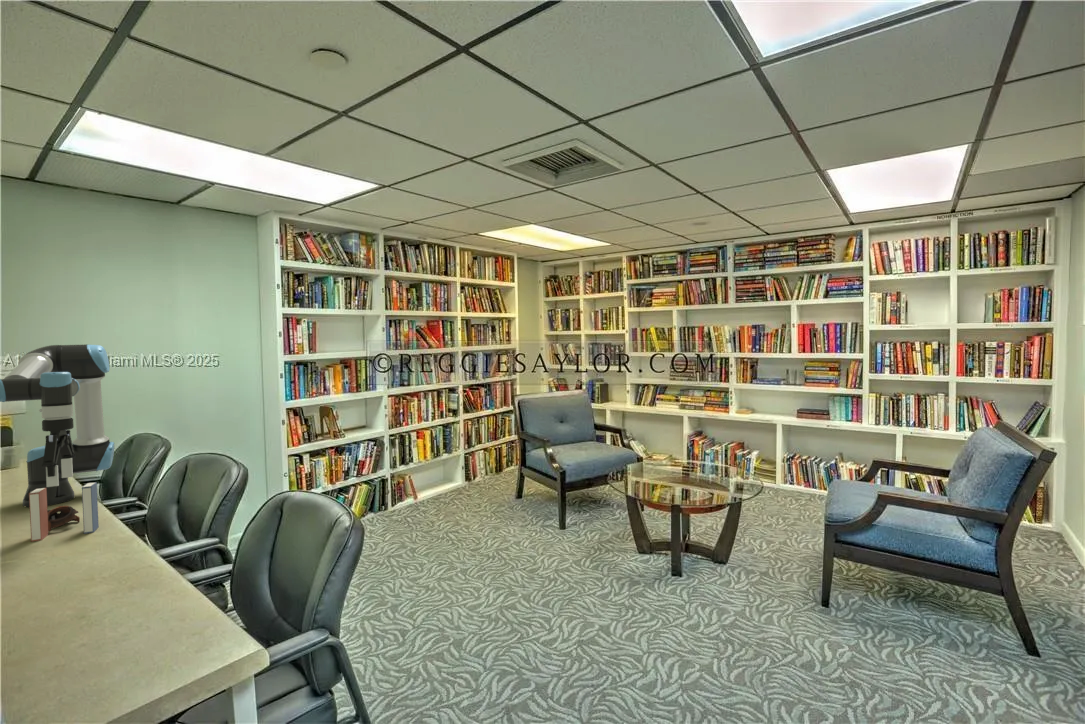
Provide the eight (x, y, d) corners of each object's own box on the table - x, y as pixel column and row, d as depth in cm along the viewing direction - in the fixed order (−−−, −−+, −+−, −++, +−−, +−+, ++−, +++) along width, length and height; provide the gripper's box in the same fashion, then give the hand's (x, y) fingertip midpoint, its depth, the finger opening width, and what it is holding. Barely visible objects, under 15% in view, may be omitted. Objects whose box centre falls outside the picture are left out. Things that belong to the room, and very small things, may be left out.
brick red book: (38, 535, 169) (36, 488, 169) (48, 534, 170) (46, 487, 170) (31, 541, 164) (28, 493, 163) (41, 540, 165) (39, 491, 164)
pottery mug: (90, 521, 183) (83, 505, 178) (65, 542, 174) (57, 525, 170) (59, 514, 183) (51, 498, 179) (32, 534, 175) (24, 518, 171)
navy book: (89, 528, 175) (87, 483, 175) (98, 527, 177) (96, 481, 176) (83, 534, 170) (81, 487, 170) (93, 532, 171) (91, 486, 171)
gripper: (56, 415, 175) (58, 475, 176) (26, 423, 154) (29, 492, 154) (84, 413, 179) (86, 472, 180) (59, 421, 157) (62, 488, 158)
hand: (60, 481), depth 167 cm, fingers open, 13 cm apart
